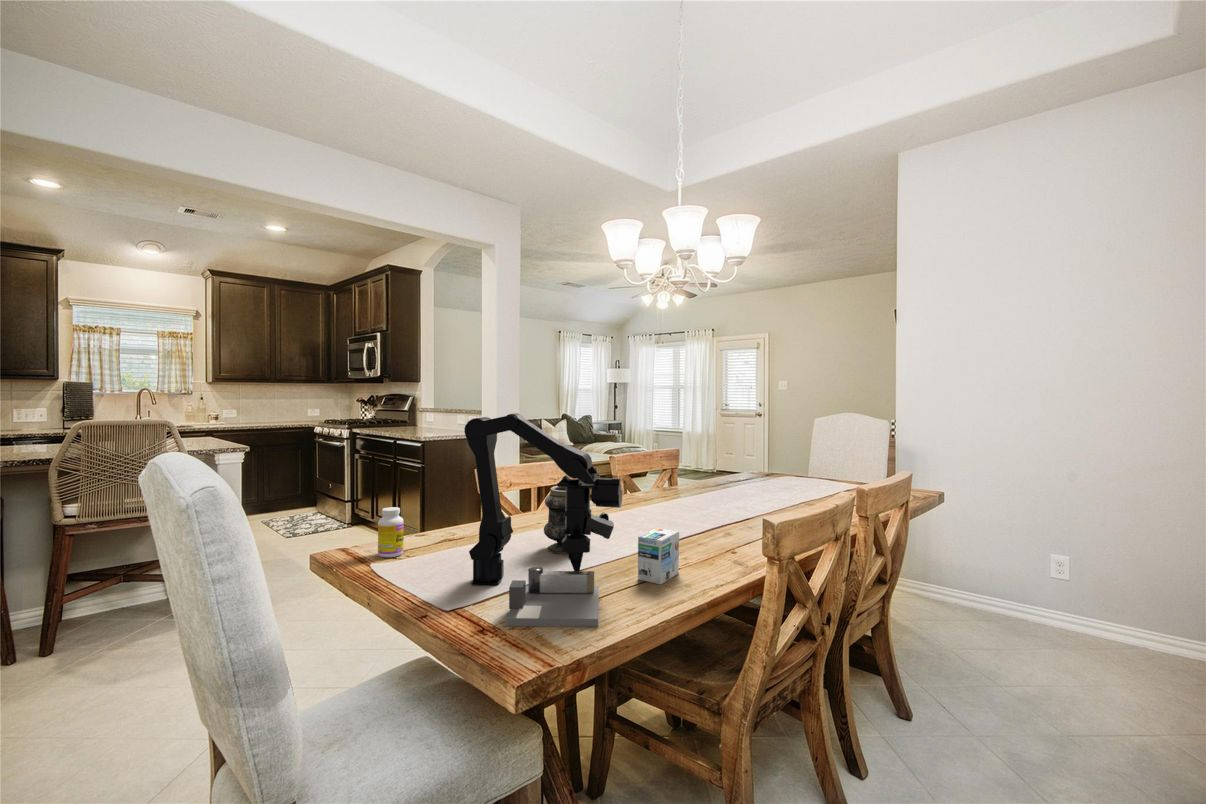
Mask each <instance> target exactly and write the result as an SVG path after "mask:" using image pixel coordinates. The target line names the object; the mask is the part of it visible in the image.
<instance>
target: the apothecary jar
mask: <svg viewBox="0 0 1206 804" xmlns="http://www.w3.org/2000/svg"><path fill="white" fill-rule="evenodd" d="M544 505H545V506H546V507H547V508H548V518H547V520H548V521H547V523H546V524H545V526H544V527H543V534H544V535H545V536H546V537H547V538H548V539H550V540H552V541H555V543H553V544H550V545H549V546H548V547H547V548H546V550H547V551H548V552H550V553H551V554H555V553H557V555H567V553H564V552H562V540H563V539H564V538H565V537H566V536H567V535H569V534H565V510H566V487H558V486H557V485H555V486H552V487H551V488H550V492H549V494H548V495H547V496H546V497H545V499H544Z"/></svg>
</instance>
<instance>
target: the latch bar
mask: <svg viewBox="0 0 1206 804" xmlns="http://www.w3.org/2000/svg"><path fill="white" fill-rule="evenodd" d="M527 579H528V591H529V592H530V593H594V586H595V570H591V571H590V570H580V571H574V570H544V568H543V567H542V566H531V567H528V578H527Z"/></svg>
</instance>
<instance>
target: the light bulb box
mask: <svg viewBox="0 0 1206 804" xmlns="http://www.w3.org/2000/svg"><path fill="white" fill-rule="evenodd" d="M679 560H680V531H677V530H669V529H664V528H661V527H660V528H658V527H656V528H654V529H652V530H650V531H648V532H645V533H644V534H641V535H639V536H637V580H639V581H644V582H648V583H652V584H655V585H656V584H657V585H663V584H665V582H666V583H667V581H668V580H670V579H672V578H673V577H674V576H676V575H678V574H679V571H680V570H679V569H680V567H679V565H680V563H679V562H680V561H679Z"/></svg>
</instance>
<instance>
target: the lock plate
mask: <svg viewBox="0 0 1206 804" xmlns="http://www.w3.org/2000/svg"><path fill="white" fill-rule="evenodd" d="M526 583H527V581H526V580H525V579H524V580H522V579H521V580H517V579H513V580H512V581H511V582H510V585H509V587H508V588H509V589H508V590H509V591H508V594H509V595H508V601H509V603H508V609H509V612H508V615H507V617H506V626H507V627H599V610H600V609H599V606H600V605H599V604H600V603H599V602H600V600H599V598H600V597H599V596H600V595H599V588H600V587H599V586H600V585H594V593H530V592H529V591H528V585H527V584H526Z"/></svg>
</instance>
